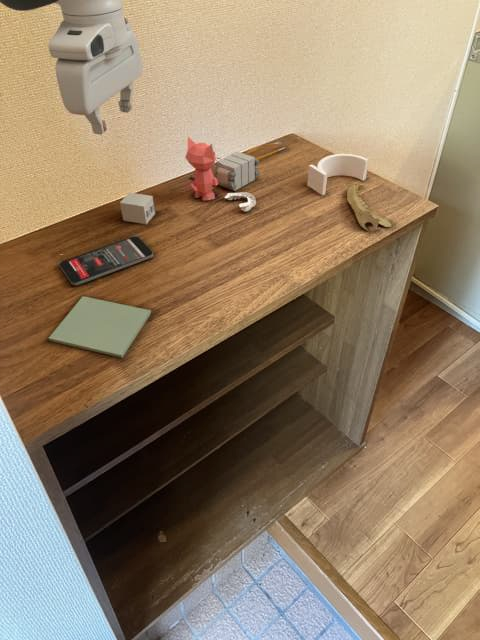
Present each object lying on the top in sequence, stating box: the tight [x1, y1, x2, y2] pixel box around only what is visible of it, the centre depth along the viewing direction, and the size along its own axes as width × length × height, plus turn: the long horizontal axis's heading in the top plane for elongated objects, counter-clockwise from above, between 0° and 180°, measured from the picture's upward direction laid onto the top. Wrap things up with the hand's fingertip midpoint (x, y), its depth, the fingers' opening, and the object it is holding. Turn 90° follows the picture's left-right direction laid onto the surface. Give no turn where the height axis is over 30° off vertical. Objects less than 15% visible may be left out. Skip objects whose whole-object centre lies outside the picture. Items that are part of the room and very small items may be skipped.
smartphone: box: [58, 235, 154, 287], centre depth 91 cm, size 7×1×15 cm
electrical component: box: [215, 141, 286, 192], centre depth 114 cm, size 24×6×5 cm, turn 140°
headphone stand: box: [306, 153, 370, 196], centre depth 110 cm, size 5×6×12 cm
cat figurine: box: [185, 136, 223, 201], centre depth 103 cm, size 7×7×12 cm
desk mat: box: [48, 295, 152, 359], centre depth 79 cm, size 12×10×1 cm
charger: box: [119, 192, 156, 225], centre depth 101 cm, size 5×4×4 cm
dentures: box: [224, 191, 257, 213], centre depth 105 cm, size 7×5×1 cm
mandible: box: [346, 183, 392, 232], centre depth 103 cm, size 6×17×3 cm, turn 11°
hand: (113, 121), depth 88 cm, fingers open, 8 cm apart
